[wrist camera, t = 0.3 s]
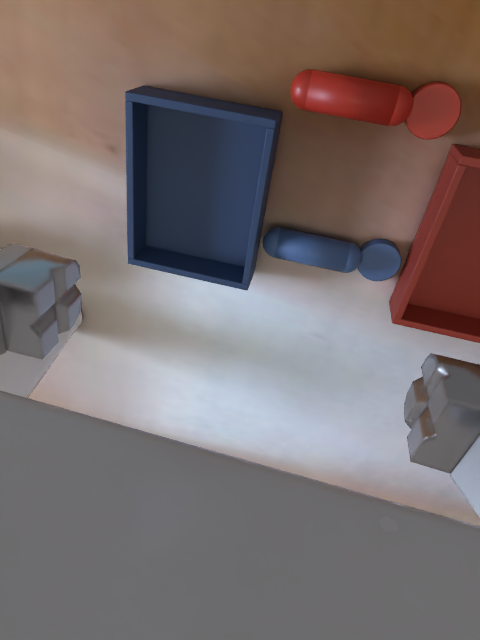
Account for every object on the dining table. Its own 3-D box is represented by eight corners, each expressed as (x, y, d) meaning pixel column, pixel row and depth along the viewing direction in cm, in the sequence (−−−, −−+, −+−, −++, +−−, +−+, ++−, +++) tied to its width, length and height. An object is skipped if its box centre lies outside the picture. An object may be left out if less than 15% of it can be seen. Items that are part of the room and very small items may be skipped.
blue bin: (143, 85, 35) (124, 91, 32) (282, 111, 34) (276, 120, 31) (142, 247, 43) (127, 263, 40) (254, 272, 42) (247, 290, 39)
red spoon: (298, 56, 32) (294, 59, 29) (467, 86, 30) (475, 91, 28) (288, 111, 34) (284, 117, 32) (446, 140, 33) (452, 149, 30)
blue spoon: (269, 214, 39) (264, 226, 36) (406, 243, 37) (409, 257, 35) (262, 251, 41) (257, 264, 39) (391, 279, 40) (394, 294, 37)
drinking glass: (46, 270, 47) (-59, 359, 35) (100, 309, 48) (17, 406, 36) (25, 308, 51) (-77, 400, 39) (75, 343, 52) (-8, 442, 40)
